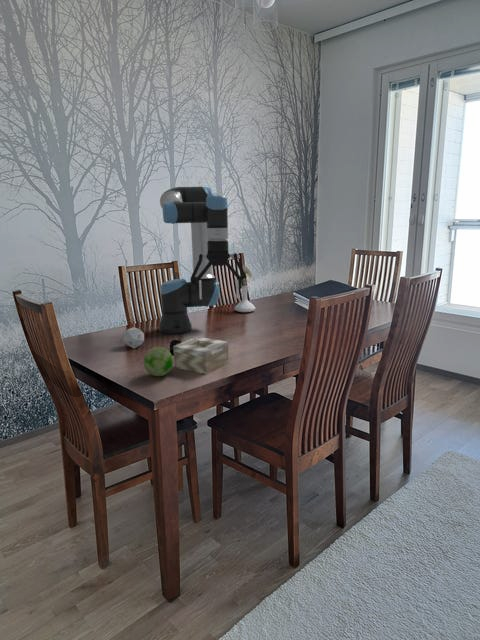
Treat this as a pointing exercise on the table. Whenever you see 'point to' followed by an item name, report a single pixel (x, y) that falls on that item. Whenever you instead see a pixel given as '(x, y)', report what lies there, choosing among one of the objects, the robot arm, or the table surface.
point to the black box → (173, 343)
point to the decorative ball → (158, 361)
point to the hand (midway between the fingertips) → (219, 298)
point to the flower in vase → (245, 296)
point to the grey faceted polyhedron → (133, 337)
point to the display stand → (200, 354)
